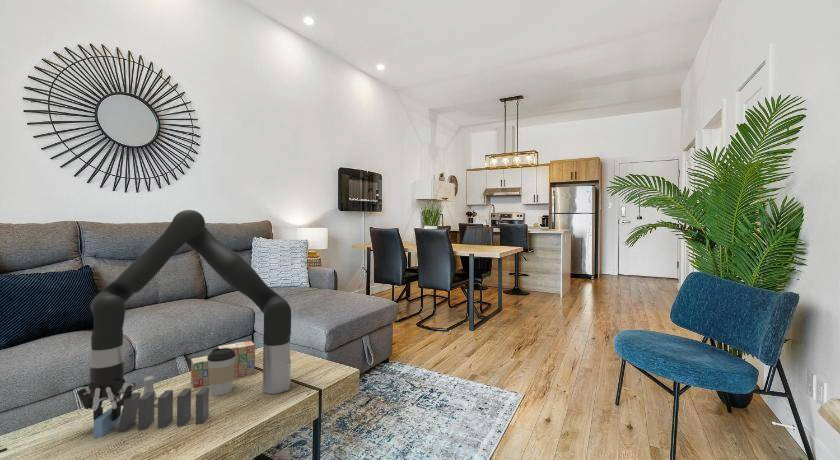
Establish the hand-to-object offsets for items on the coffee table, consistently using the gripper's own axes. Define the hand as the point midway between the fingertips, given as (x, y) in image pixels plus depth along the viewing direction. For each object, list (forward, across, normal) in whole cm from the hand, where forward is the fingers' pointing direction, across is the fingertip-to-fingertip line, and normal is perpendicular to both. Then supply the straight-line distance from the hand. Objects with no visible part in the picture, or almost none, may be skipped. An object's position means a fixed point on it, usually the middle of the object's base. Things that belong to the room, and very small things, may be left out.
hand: (107, 420), depth 104 cm
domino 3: (+3, -15, 0) cm, 15 cm away
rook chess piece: (+3, -3, -18) cm, 18 cm away
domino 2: (+3, -10, 0) cm, 10 cm away
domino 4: (+3, -20, 0) cm, 20 cm away
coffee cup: (+3, -25, -20) cm, 32 cm away
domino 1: (+3, -5, 0) cm, 6 cm away
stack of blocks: (+3, -22, -32) cm, 39 cm away
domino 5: (+3, -25, 0) cm, 25 cm away
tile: (0, 0, -5) cm, 5 cm away
